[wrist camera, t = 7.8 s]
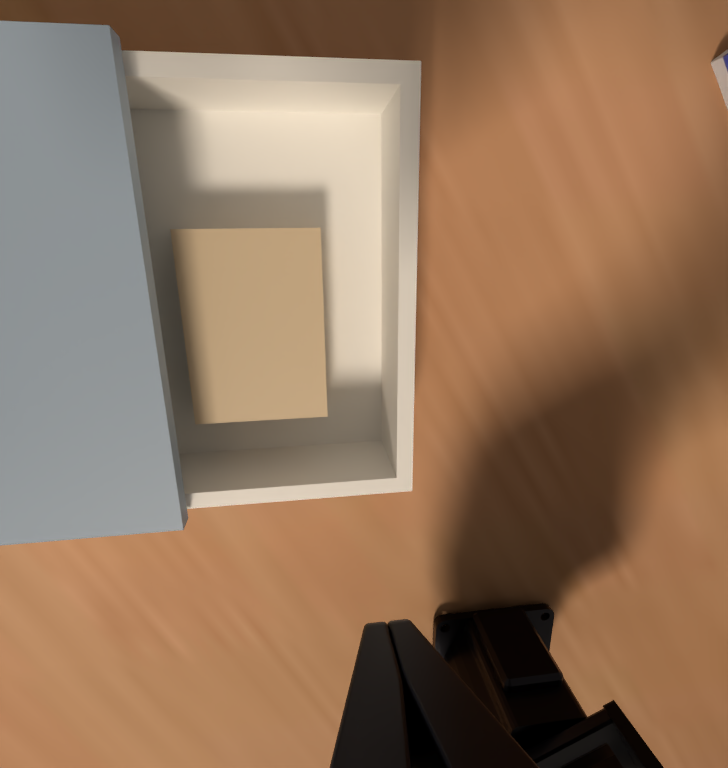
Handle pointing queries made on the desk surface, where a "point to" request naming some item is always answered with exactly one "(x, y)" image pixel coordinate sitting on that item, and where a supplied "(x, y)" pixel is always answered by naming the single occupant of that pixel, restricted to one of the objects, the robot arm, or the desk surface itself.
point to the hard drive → (722, 73)
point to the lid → (77, 300)
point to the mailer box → (283, 267)
